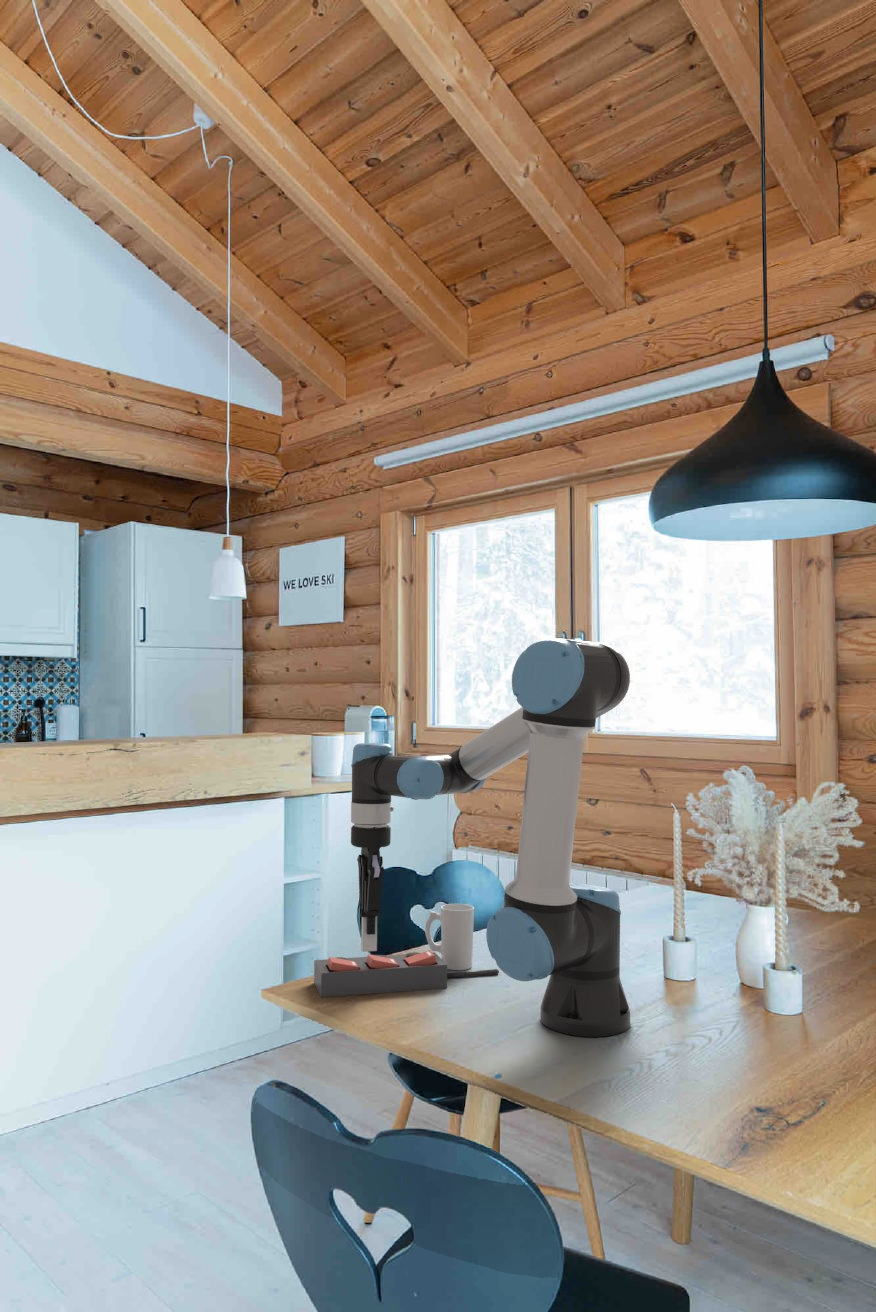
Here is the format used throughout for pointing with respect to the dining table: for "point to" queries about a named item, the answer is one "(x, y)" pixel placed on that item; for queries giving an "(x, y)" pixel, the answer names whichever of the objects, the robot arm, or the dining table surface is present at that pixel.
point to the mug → (454, 935)
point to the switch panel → (385, 976)
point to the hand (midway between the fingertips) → (368, 950)
